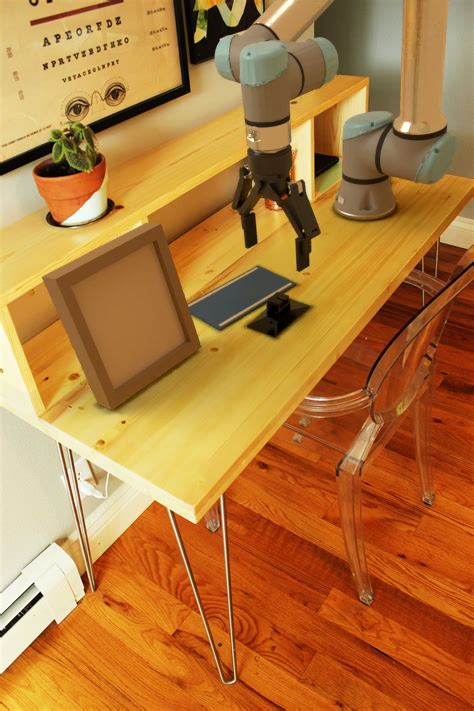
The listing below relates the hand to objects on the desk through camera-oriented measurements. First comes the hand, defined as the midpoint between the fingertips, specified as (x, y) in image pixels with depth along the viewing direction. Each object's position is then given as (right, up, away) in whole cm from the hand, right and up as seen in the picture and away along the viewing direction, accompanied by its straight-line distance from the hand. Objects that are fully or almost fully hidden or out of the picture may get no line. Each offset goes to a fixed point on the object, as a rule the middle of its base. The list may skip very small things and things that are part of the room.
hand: (276, 256), depth 118 cm
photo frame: (-27, -21, 0) cm, 34 cm away
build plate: (+1, -11, +8) cm, 14 cm away
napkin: (-7, -6, +15) cm, 17 cm away
